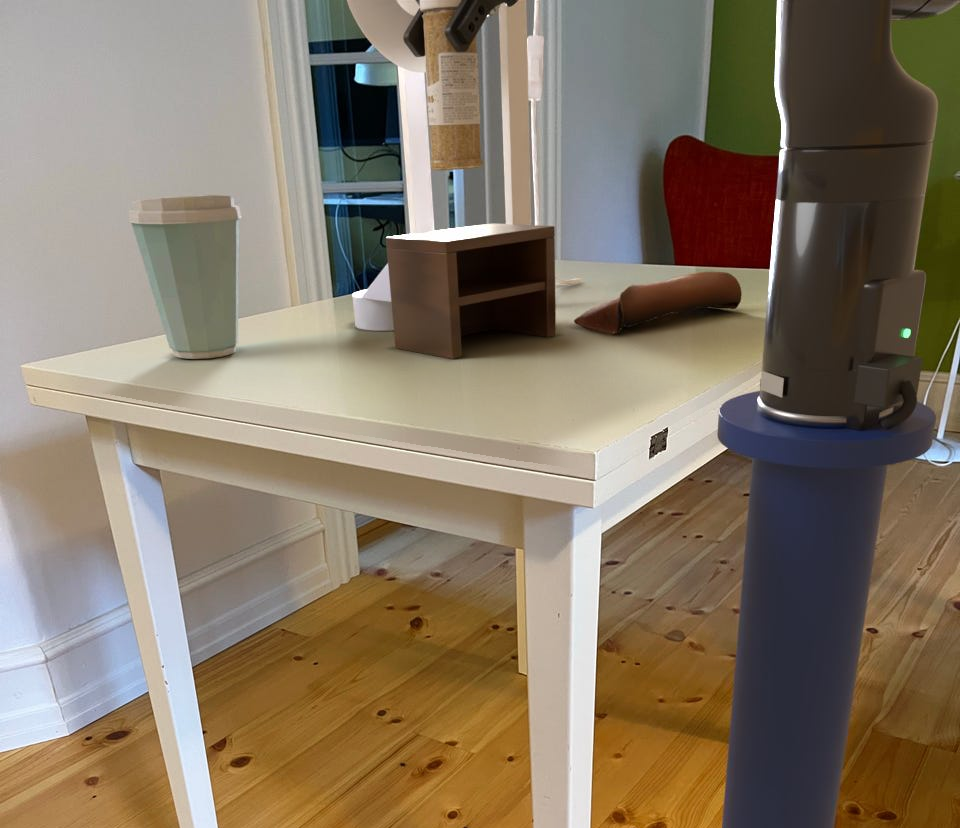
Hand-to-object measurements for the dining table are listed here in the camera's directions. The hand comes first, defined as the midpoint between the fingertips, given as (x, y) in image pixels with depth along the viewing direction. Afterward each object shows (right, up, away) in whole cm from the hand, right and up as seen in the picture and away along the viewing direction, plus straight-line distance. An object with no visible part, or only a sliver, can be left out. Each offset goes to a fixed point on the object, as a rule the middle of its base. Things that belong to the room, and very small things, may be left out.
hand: (433, 45), depth 79 cm
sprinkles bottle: (+2, -8, +5) cm, 9 cm away
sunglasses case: (+23, -13, +28) cm, 38 cm away
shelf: (+3, -17, +21) cm, 28 cm away
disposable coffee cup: (-24, -18, +23) cm, 38 cm away
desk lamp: (+5, -5, +45) cm, 46 cm away
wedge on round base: (-4, -12, +32) cm, 35 cm away
